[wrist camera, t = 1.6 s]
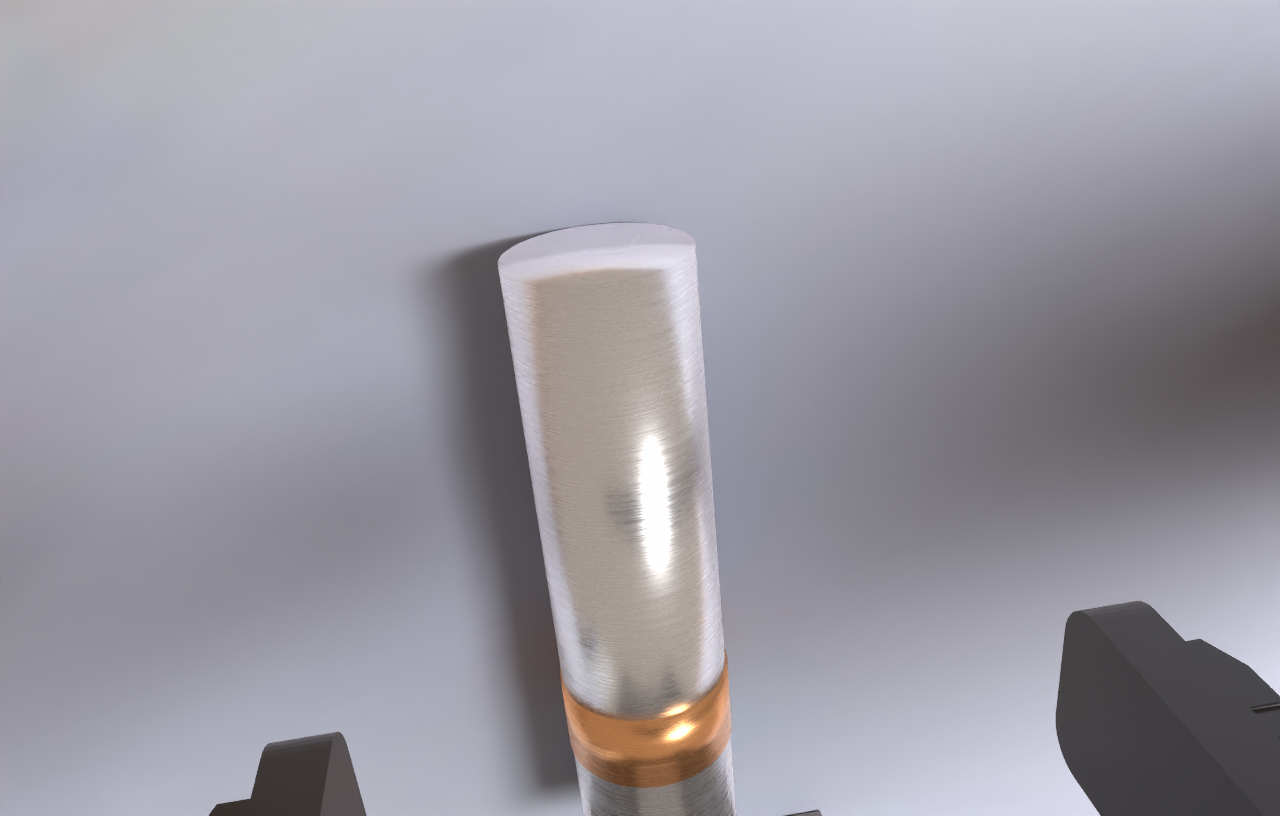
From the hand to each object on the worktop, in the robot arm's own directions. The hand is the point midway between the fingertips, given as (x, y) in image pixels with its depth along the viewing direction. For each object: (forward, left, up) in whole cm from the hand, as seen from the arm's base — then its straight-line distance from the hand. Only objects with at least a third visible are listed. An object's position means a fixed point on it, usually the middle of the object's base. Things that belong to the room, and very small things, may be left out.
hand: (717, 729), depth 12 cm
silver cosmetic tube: (0, +6, -14) cm, 15 cm away
